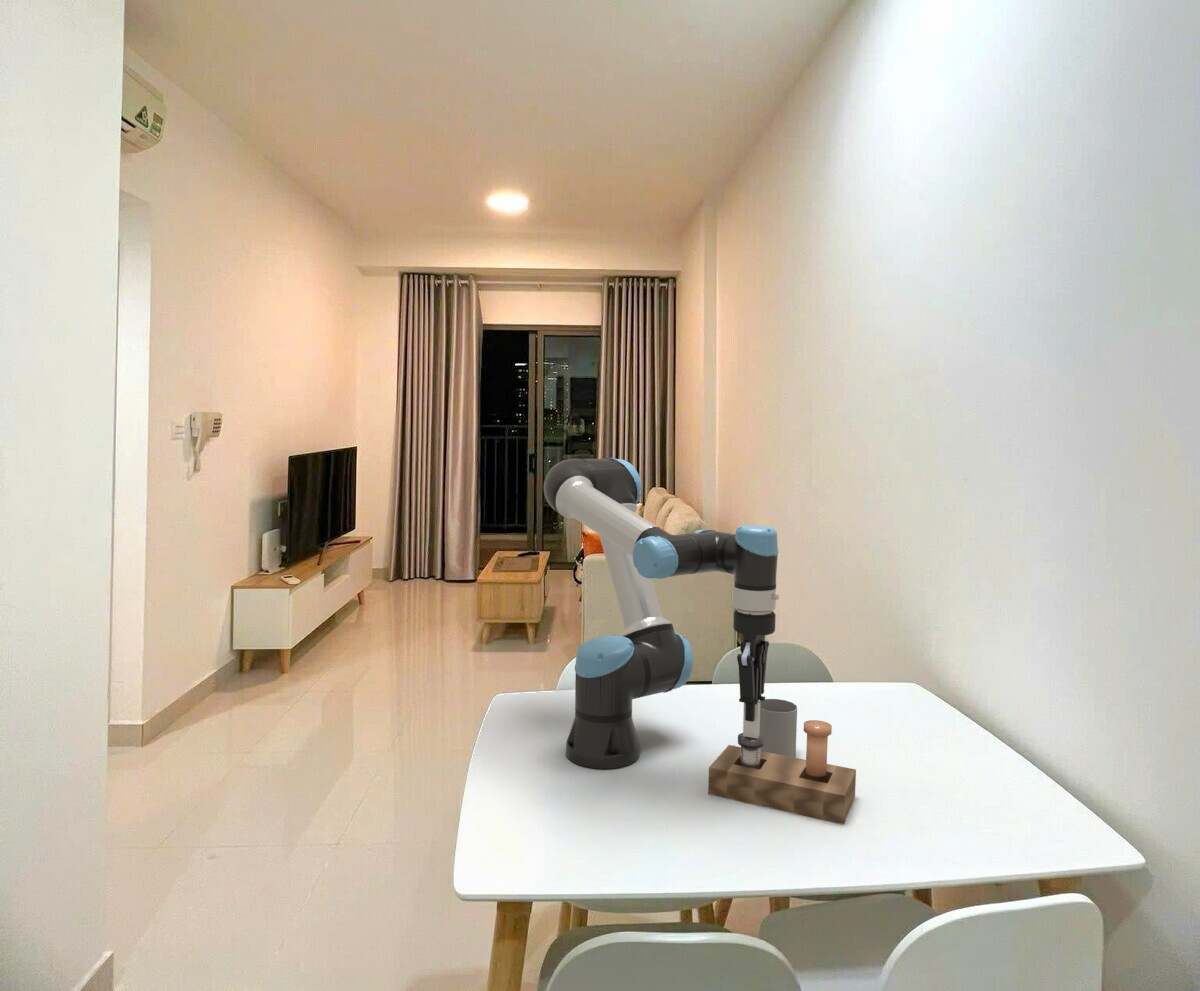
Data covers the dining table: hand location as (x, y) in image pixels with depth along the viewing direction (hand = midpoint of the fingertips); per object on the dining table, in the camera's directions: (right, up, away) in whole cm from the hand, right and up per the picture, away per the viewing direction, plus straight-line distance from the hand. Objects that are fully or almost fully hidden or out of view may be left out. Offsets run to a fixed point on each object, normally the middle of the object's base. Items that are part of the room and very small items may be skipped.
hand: (751, 735), depth 146 cm
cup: (+8, -9, +18) cm, 22 cm away
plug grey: (0, -9, +1) cm, 9 cm away
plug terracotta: (+11, -5, -5) cm, 13 cm away
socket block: (+5, -10, -2) cm, 12 cm away
